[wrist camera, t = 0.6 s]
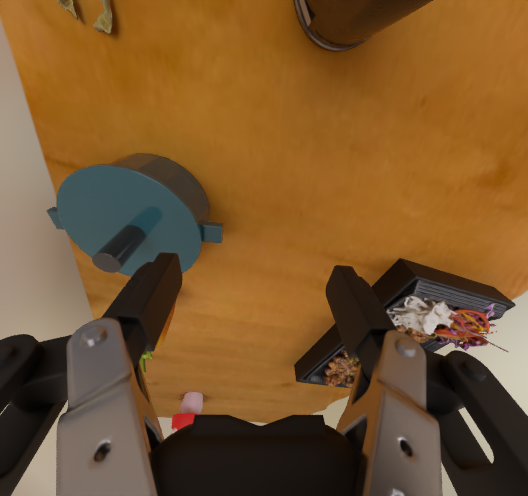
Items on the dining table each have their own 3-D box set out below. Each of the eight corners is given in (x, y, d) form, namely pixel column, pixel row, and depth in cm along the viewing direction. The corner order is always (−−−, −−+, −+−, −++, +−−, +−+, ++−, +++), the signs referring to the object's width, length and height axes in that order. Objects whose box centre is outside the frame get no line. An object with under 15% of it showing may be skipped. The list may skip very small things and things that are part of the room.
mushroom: (214, 396, 74) (208, 439, 65) (193, 401, 78) (184, 444, 68) (194, 387, 69) (183, 434, 59) (172, 394, 72) (159, 439, 63)
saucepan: (66, 143, 23) (5, 156, 18) (229, 163, 25) (220, 181, 19) (106, 238, 31) (73, 268, 26) (227, 248, 33) (221, 278, 27)
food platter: (400, 258, 35) (443, 306, 27) (494, 287, 40) (554, 335, 32) (294, 365, 60) (299, 407, 52) (360, 374, 65) (375, 414, 57)
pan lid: (35, 152, 18) (-50, 172, 13) (198, 172, 19) (178, 196, 14) (96, 269, 27) (59, 308, 22) (206, 277, 28) (194, 315, 23)
